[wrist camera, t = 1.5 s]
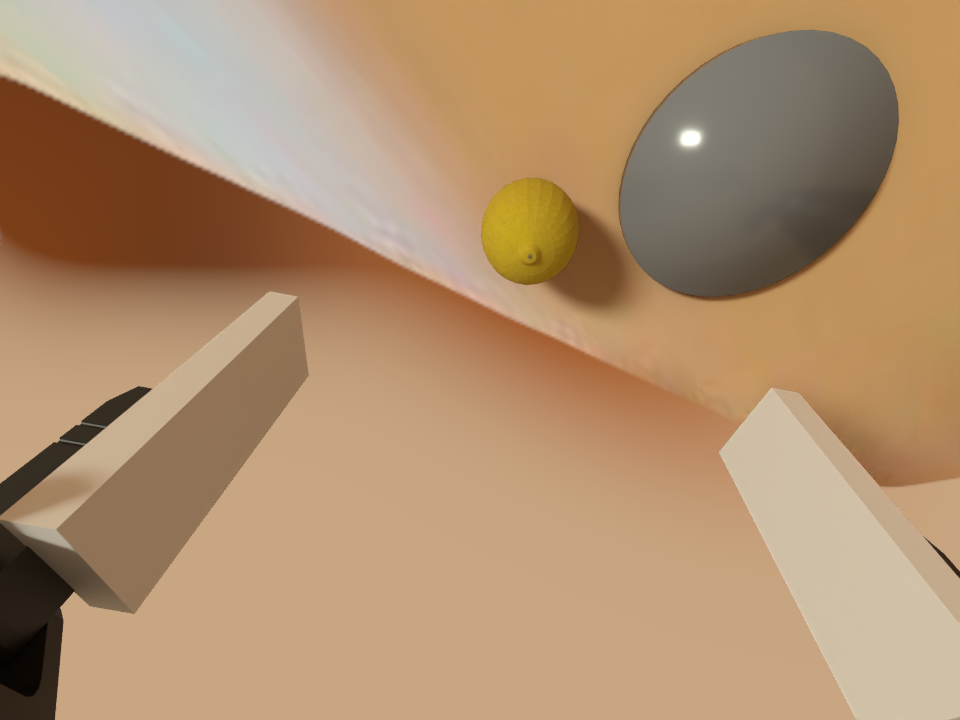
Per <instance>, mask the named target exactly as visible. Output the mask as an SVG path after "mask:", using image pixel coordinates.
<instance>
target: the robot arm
mask: <svg viewBox="0 0 960 720" xmlns="http://www.w3.org/2000/svg"><path fill="white" fill-rule="evenodd" d="M307 377H308V367H307V360H306V353H305V345H304V338H303V330H302V322H301V315H300V307H299V300H298V297H297V296H291V295H286V294H281V293H276V292H269V293H267V294H266V295H265V296H264V297H262V298H261V299H260V300H259V301H258V302H256V303H255V304H254V305H253V306H252V307H250V308H249V309H248V310H247V311H246V312H244V313H243V314H242V315H241V316H240V317H238V318H237V319H236V320H235V321H234V322H232V323H231V324H230V325H229V326H228V327H226V328H225V329H224V330H223V331H222V332H220V333H219V334H218V335H217V336H216V337H214V338H213V339H212V340H211V341H210V342H208V343H207V344H206V345H205V346H204V347H202V348H201V349H200V350H199V351H198V352H196V353H195V354H194V355H193V356H192V357H190V358H189V359H188V360H187V361H186V362H184V363H183V364H182V365H181V366H179V367H178V368H177V369H176V370H175V371H174V372H172V373H171V374H170V375H169V376H167V377H166V378H165V379H164V380H163V381H162V382H160V383H159V384H158V385H157V386H155V387H154V388H153V389H151V388H146V387H140V386H138V387H136V388H134V389H132V390H130V391H128V392H126V393H123V394H122V395H119V396H117V397H115V398H113V399H111V400H109V401H107V402H106V403H104V404H103V405H102V406H100V407H99V408H98V409H97V410H95V411H94V412H93V413H91V414H90V415H89V416H87V417H86V418H85V419H84V420H82V423H81V425H76V426H74V427H73V428H72V429H71V430H69V431H68V432H67V433H65V434H64V435H63V436H61V437H60V440H59V442H58V443H55V442H54V443H52V444H51V445H50V446H49V447H47V448H46V449H45V450H43V451H42V452H41V453H39V454H38V455H37V456H36V457H34V458H33V459H32V460H30V461H29V462H28V463H26V464H25V465H24V466H23V467H21V468H20V469H19V470H17V471H16V472H15V473H14V474H12V475H11V476H10V477H8V478H7V479H6V480H5V481H3V482H2V483H1V484H0V720H55V711H56V699H57V687H58V677H59V666H60V654H61V643H62V632H63V617H62V612H61V609H60V607H61V606H62V605H63V604H64V602H65V601H66V600H67V599H68V598H69V597H70V596H71V594H72V593H73V592H75V593H76V594H77V595H79V596H80V597H81V598H82V599H83V600H84V601H85V602H86V603H87V604H88V605H89V606H93V607H98V608H104V609H110V610H115V611H121V612H127V613H133V614H135V612H136V611H137V610H138V608H139V607H140V605H141V604H142V603H143V601H144V600H145V599H146V597H147V596H148V595H149V593H150V592H151V590H152V589H153V588H154V586H155V585H156V584H157V582H158V581H159V579H160V578H161V577H162V575H163V574H164V573H165V571H166V570H167V569H168V567H169V566H170V564H171V563H172V561H173V560H174V559H175V557H176V556H177V555H178V553H179V552H180V551H181V549H182V548H183V546H184V545H185V544H186V542H187V541H188V540H189V538H190V537H191V536H192V534H193V533H194V532H195V530H196V529H197V527H198V526H199V525H200V523H201V522H202V521H203V519H204V518H205V516H206V515H207V514H208V512H209V511H210V509H211V508H212V507H213V506H214V504H215V503H216V501H217V500H218V499H219V497H220V496H221V495H222V493H223V492H224V490H225V489H226V488H227V486H228V485H229V484H230V482H231V481H232V480H233V478H234V477H235V475H236V474H237V473H238V471H239V470H240V468H241V467H242V466H243V464H244V463H245V462H246V460H247V459H248V458H249V456H250V455H251V454H252V452H253V451H254V449H255V448H256V447H257V445H258V444H259V443H260V441H261V440H262V438H263V437H264V436H265V434H266V433H267V432H268V430H269V429H270V427H271V426H272V425H273V423H274V422H275V421H276V419H277V418H278V416H279V415H280V414H281V412H282V411H283V410H284V408H285V407H286V406H287V404H288V403H289V401H290V400H291V399H292V397H293V396H294V395H295V393H296V392H297V391H298V389H299V388H300V386H301V385H302V384H303V382H304V381H305V380H306V378H307ZM719 454H720V456H721V458H722V460H723V462H724V464H725V466H726V468H727V469H728V472H729V473H730V475H731V477H732V479H733V481H734V483H735V485H736V487H737V489H738V491H739V493H740V495H741V497H742V499H743V501H744V503H745V505H746V507H747V508H748V510H749V512H750V514H751V516H752V518H753V520H754V522H755V524H756V526H757V528H758V530H759V532H760V534H761V536H762V538H763V540H764V541H765V543H766V545H767V547H768V549H769V551H770V553H771V555H772V557H773V559H774V561H775V563H776V565H777V567H778V568H779V571H780V573H781V575H782V576H783V578H784V580H785V582H786V584H787V586H788V588H789V590H790V592H791V594H792V596H793V598H794V600H795V602H796V604H797V606H798V608H799V609H800V611H801V613H802V615H803V617H804V619H805V621H806V623H807V625H808V627H809V629H810V631H811V633H812V635H813V636H814V639H815V641H816V642H817V644H818V646H819V648H820V650H821V652H822V654H823V656H824V658H825V660H826V662H827V664H828V666H829V668H830V669H831V672H832V673H833V675H834V677H835V679H836V681H837V683H838V685H839V687H840V689H841V691H842V693H843V695H844V697H845V699H846V701H847V703H848V705H849V706H850V708H851V710H852V712H853V714H854V716H855V718H856V720H960V571H959V570H958V569H957V568H956V567H955V566H954V565H953V563H952V562H951V561H950V560H949V559H948V558H947V557H946V555H945V554H944V553H942V552H941V551H940V550H939V549H938V548H937V547H935V546H934V545H933V544H932V543H931V542H929V541H928V540H927V539H926V538H925V537H923V536H922V535H921V533H920V532H919V531H918V530H917V529H916V528H915V527H914V525H913V524H912V523H911V522H910V521H909V520H908V518H907V517H906V516H905V515H904V514H903V513H902V512H901V510H900V509H899V508H898V507H897V506H896V505H895V503H894V502H893V501H892V500H891V499H890V498H889V497H888V495H887V494H886V493H885V492H884V491H883V490H882V488H881V487H880V486H879V485H878V484H877V483H876V481H875V480H874V479H873V478H872V477H871V476H870V475H869V473H868V472H867V471H866V470H865V469H864V468H863V466H862V465H861V464H860V463H859V462H858V461H857V460H856V458H855V457H854V456H853V455H852V454H851V453H850V451H849V450H848V449H847V448H846V447H845V446H844V445H843V443H842V442H841V441H840V440H839V439H838V438H837V436H836V435H835V434H834V433H833V432H832V431H831V430H830V428H829V427H828V426H827V425H826V424H825V423H824V421H823V420H822V419H821V418H820V417H819V416H818V415H817V413H816V412H815V411H814V410H813V409H812V408H811V406H810V405H809V404H808V403H807V402H806V401H805V400H804V398H803V397H802V396H801V395H800V394H799V393H797V392H792V391H787V390H782V389H777V388H771V389H770V390H769V391H768V393H767V394H766V395H765V396H764V398H763V399H762V400H761V401H760V402H759V404H758V405H757V406H756V407H755V409H754V410H753V411H752V412H751V413H750V415H749V416H748V417H747V418H746V419H745V421H744V422H743V423H742V424H741V426H740V427H739V428H738V429H737V430H736V432H735V433H734V434H733V435H732V437H731V438H730V439H729V440H728V441H727V443H726V444H725V445H724V446H723V448H722V449H721V450H720V451H719Z"/></svg>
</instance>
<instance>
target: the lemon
mask: <svg viewBox="0 0 960 720" xmlns="http://www.w3.org/2000/svg"><path fill="white" fill-rule="evenodd" d="M578 233H579V223H578V217H577V212H576V210H575V208H574V205H573V203H572V201H571V199H570V198H569V197H568V195H567V194H566V193H565V192H564V191H563V190H562V189H561V188H560V187H558V186H557V185H555V184H554V183H552V182H550V181H546V180H543V179H540V178H525V179H521V180H517V181H514V182H512V183H510V184H508V185H507V186H505V187H503V188H502V189H501V190H500V191H499V192H498V193H497V194H496V195H495V196H494V197H493V199H492V200H491V202H490V203H489V205H488V207H487V208H486V211H485V214H484V217H483V220H482V231H481V238H482V244H483V249H484V252H485V254H486V256H487V258H488V261H489V263H490V264H491V265H492V266H493V268H494V269H495V270H496V271H497V273H499V274H500V275H501V276H503V277H504V278H505V279H508V280H510V281H512V282H515V283H519V284H524V285H530V284H538V283H542V282H545V281H547V280H549V279H551V278H553V277H554V276H556V275H557V274H558V273H560V272H561V271H562V270H563V269H564V268H565V267H566V265H567V264H568V262H569V261H570V259H571V258H572V256H573V254H574V251H575V248H576V245H577V242H578Z"/></svg>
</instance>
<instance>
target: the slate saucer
mask: <svg viewBox="0 0 960 720" xmlns="http://www.w3.org/2000/svg"><path fill="white" fill-rule="evenodd" d="M898 124H899V116H898V101H897V96H896V92H895V87H894V85H893V82H892V80H891V78H890V75H889V73H888V71H887V70H886V68H885V67H884V65H883V64H882V63H881V61H880V60H879V58H878V57H877V56H876V55H874V54H873V53H872V52H871V51H870V50H869V49H868V48H867V47H865V46H864V45H862V44H860V43H858V42H857V41H855V40H853V39H851V38H849V37H846V36H843V35H839V34H836V33H833V32H826V31H817V30H802V31H789V32H784V33H778V34H773V35H768V36H763V37H759V38H756V39H753V40H750V41H748V42H745V43H742V44H739V45H737V46H735V47H733V48H731V49H729V50H727V51H725V52H723V53H720V54H719V55H717V56H716V57H714V58H712V59H711V60H709V61H708V62H706V63H704V64H703V65H701V66H700V67H699V68H697V69H696V70H695V71H694V72H692V73H691V74H690V75H689V76H687V77H686V78H685V79H684V80H682V81H681V82H680V83H679V84H678V85H677V86H676V87H675V88H674V89H673V90H672V91H671V92H670V93H669V94H668V95H667V96H666V97H665V99H664V100H663V101H662V102H661V103H660V105H659V106H658V107H657V108H656V109H655V110H654V112H653V113H652V115H651V116H650V118H649V119H648V121H647V122H646V123H645V125H644V126H643V128H642V130H641V132H640V133H639V135H638V137H637V139H636V141H635V143H634V145H633V147H632V149H631V152H630V154H629V157H628V159H627V161H626V165H625V168H624V172H623V175H622V179H621V185H620V191H619V218H620V225H621V229H622V233H623V236H624V239H625V241H626V244H627V246H628V248H629V250H630V251H631V253H632V255H633V256H634V258H635V260H636V261H637V263H638V264H639V265H640V266H641V268H642V269H643V270H644V271H645V272H646V273H647V274H648V275H649V276H651V277H652V278H653V279H654V280H655V281H657V282H659V283H660V284H662V285H664V286H665V287H668V288H670V289H672V290H675V291H677V292H681V293H685V294H689V295H695V296H704V297H719V296H730V295H736V294H741V293H746V292H749V291H753V290H756V289H759V288H763V287H765V286H768V285H770V284H773V283H775V282H778V281H780V280H782V279H784V278H785V277H787V276H789V275H791V274H793V273H795V272H797V271H798V270H800V269H802V268H803V267H805V266H806V265H808V264H809V263H811V262H812V261H814V260H815V259H816V258H818V257H819V256H820V255H822V254H823V253H824V252H825V251H827V250H828V249H829V248H830V247H831V246H832V245H833V244H835V243H836V242H837V241H838V240H839V239H840V238H841V237H842V236H843V235H844V234H845V233H846V232H847V231H848V230H849V229H850V228H851V227H852V225H853V224H854V223H855V222H856V220H857V219H858V218H859V217H860V216H861V214H862V213H863V212H864V210H865V209H866V207H867V206H868V204H869V203H870V201H871V200H872V198H873V197H874V195H875V194H876V192H877V190H878V188H879V186H880V184H881V182H882V181H883V179H884V177H885V174H886V172H887V169H888V167H889V164H890V162H891V159H892V155H893V152H894V148H895V144H896V140H897V132H898Z"/></svg>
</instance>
